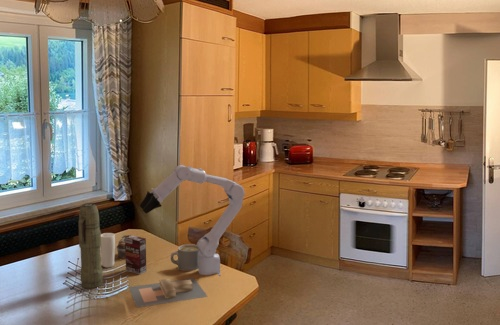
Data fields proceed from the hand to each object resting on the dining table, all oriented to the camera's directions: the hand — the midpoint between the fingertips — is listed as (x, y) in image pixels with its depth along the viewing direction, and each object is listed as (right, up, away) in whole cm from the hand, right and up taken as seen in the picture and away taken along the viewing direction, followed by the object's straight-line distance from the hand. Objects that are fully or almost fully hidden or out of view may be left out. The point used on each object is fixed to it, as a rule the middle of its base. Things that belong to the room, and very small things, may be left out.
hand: (142, 209), depth 213 cm
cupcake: (-16, -26, +38) cm, 49 cm away
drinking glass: (-21, -29, +24) cm, 43 cm away
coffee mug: (+15, -29, +22) cm, 40 cm away
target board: (+11, -34, -6) cm, 36 cm away
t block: (+15, -33, -5) cm, 36 cm away
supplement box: (-7, -30, +18) cm, 35 cm away
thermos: (-22, -32, +2) cm, 39 cm away
